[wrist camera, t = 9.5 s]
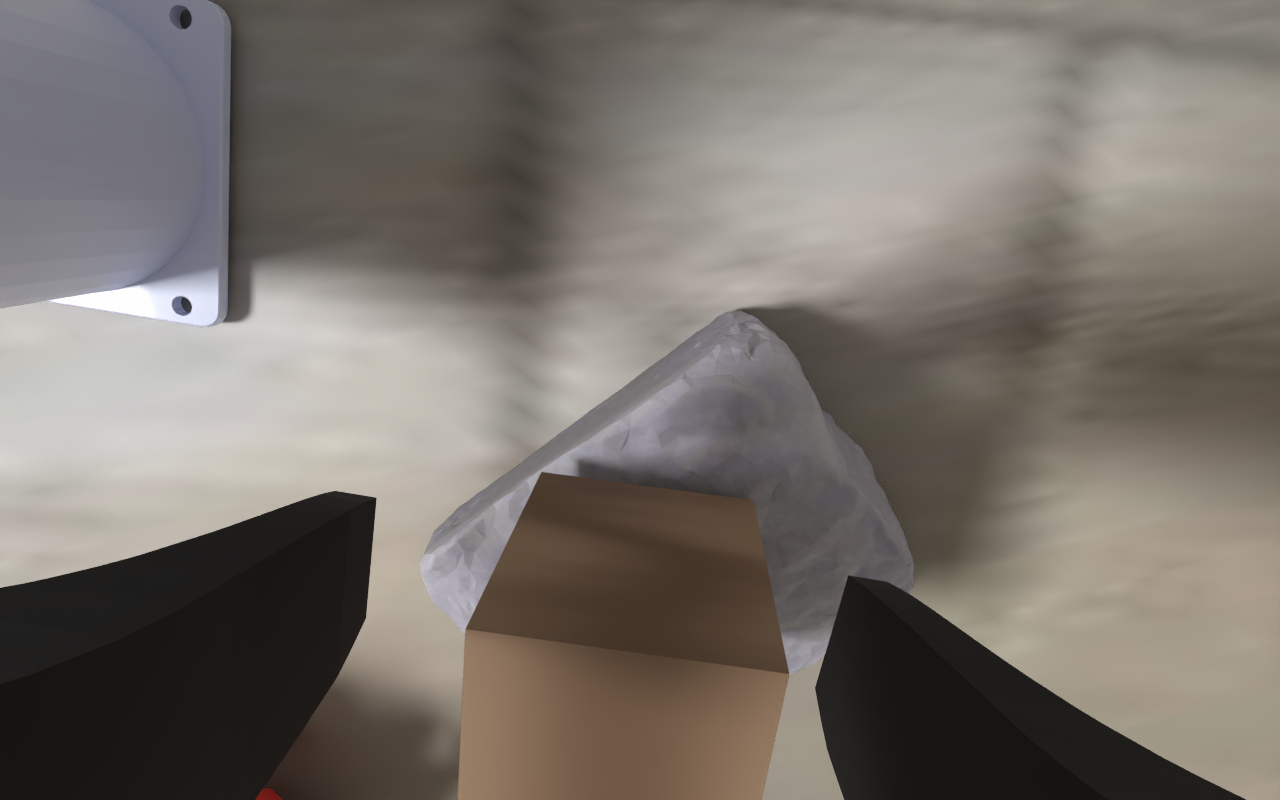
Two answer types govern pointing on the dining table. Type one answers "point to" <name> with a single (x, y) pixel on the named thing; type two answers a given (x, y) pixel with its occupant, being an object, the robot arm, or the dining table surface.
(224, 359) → the dining table surface
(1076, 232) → the dining table surface
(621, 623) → the walnut block
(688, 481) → the grey angular piece
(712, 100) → the dining table surface
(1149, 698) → the dining table surface
